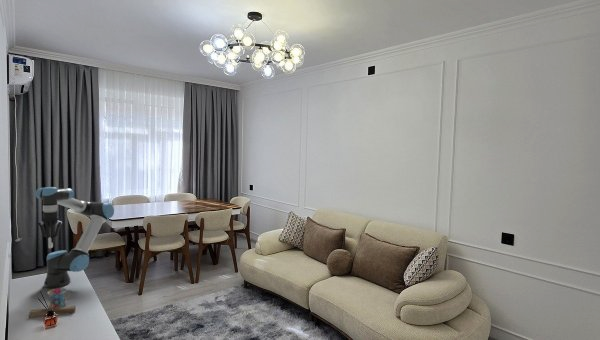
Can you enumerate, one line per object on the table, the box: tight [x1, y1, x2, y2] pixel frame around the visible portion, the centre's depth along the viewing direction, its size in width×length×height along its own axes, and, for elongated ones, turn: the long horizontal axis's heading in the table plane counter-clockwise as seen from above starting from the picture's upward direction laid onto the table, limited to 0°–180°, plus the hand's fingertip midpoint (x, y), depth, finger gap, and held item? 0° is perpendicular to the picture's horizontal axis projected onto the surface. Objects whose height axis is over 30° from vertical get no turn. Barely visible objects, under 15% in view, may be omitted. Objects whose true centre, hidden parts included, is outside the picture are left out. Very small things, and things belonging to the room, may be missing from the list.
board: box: [28, 305, 77, 318], centre depth 191 cm, size 3×22×3 cm, turn 106°
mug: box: [47, 287, 72, 308], centre depth 199 cm, size 12×9×11 cm
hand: (50, 247), depth 211 cm, fingers closed
